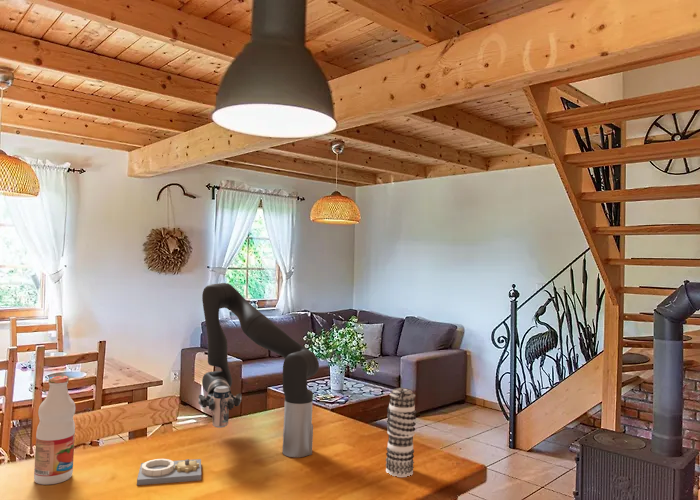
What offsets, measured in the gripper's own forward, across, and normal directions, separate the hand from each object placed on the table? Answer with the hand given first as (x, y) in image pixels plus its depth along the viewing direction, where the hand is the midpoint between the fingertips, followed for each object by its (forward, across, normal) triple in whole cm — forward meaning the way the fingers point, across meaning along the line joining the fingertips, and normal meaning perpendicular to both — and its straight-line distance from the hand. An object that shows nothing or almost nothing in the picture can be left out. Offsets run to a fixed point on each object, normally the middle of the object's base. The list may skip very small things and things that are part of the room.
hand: (221, 406), depth 159 cm
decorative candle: (+15, +53, +18) cm, 58 cm away
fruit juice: (+1, -45, +18) cm, 48 cm away
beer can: (-3, 0, +7) cm, 7 cm away
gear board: (+4, -14, +18) cm, 23 cm away
